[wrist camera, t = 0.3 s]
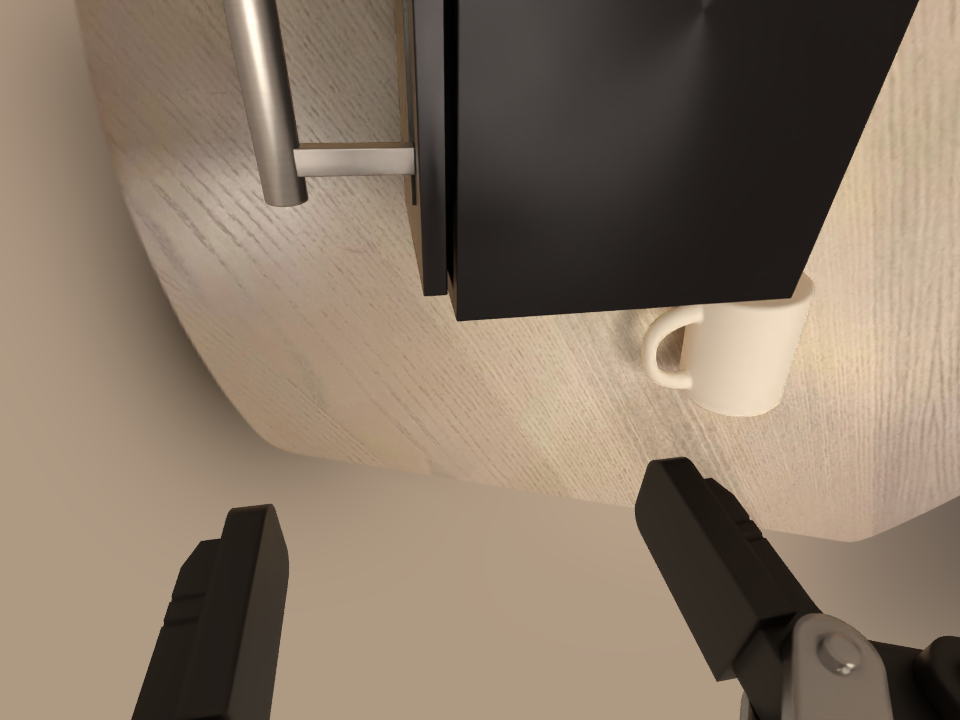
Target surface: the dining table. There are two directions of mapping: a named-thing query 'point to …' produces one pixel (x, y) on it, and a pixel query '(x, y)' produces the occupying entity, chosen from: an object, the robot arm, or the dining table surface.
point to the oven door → (413, 157)
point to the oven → (649, 146)
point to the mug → (732, 351)
